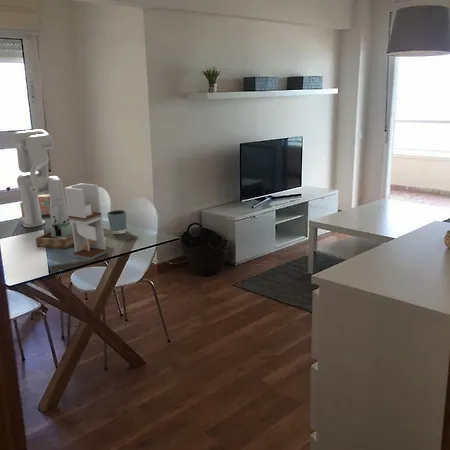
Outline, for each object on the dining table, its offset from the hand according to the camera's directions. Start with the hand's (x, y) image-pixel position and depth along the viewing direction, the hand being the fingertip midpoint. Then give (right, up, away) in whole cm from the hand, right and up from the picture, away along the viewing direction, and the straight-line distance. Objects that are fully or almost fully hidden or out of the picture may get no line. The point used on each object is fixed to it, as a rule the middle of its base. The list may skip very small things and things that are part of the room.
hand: (62, 233), depth 278 cm
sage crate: (0, -1, 0) cm, 1 cm away
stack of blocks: (-34, +12, +61) cm, 71 cm away
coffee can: (-42, +17, +80) cm, 92 cm away
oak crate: (0, -4, +1) cm, 5 cm away
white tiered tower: (+21, -10, -21) cm, 32 cm away
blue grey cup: (+28, 0, +12) cm, 31 cm away
